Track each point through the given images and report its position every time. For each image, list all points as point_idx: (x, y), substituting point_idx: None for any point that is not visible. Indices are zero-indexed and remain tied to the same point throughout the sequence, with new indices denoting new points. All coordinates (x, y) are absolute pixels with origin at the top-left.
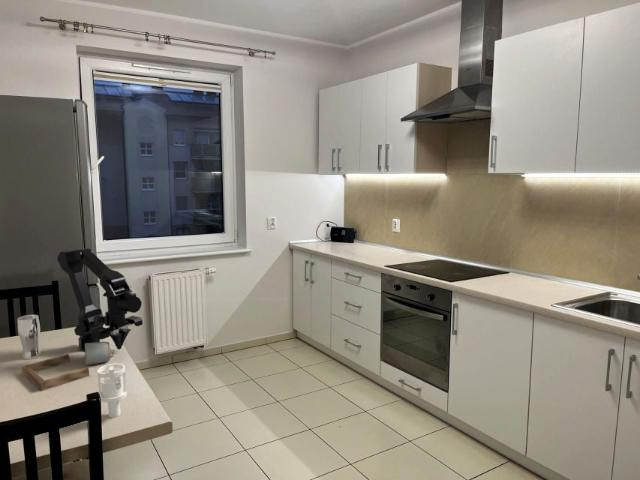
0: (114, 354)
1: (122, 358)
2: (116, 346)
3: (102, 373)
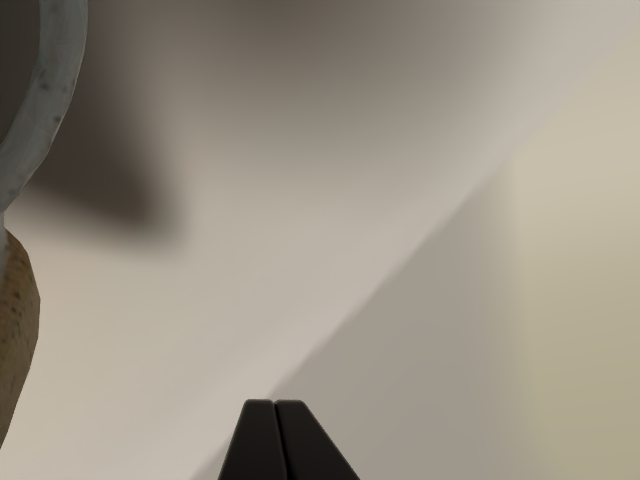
0: (268, 178)
1: (167, 429)
2: (220, 474)
3: None
